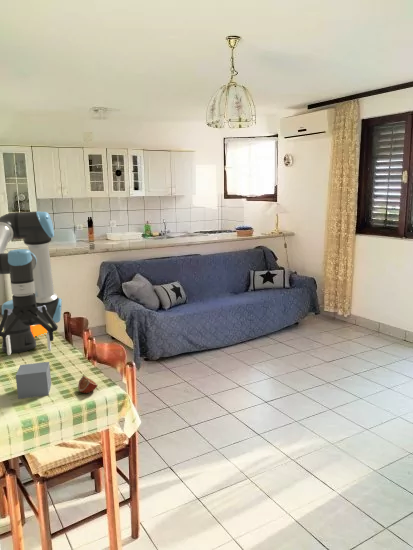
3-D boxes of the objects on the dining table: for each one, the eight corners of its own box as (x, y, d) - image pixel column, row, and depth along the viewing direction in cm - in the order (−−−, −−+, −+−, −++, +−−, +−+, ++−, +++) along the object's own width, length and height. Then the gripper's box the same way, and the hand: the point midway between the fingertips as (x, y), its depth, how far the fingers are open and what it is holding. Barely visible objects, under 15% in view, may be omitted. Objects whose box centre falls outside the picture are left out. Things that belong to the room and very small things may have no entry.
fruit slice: (75, 389, 165) (74, 376, 164) (93, 385, 169) (92, 372, 168) (82, 398, 158) (81, 384, 157) (101, 393, 162) (99, 380, 161)
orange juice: (33, 337, 229) (29, 299, 226) (25, 334, 235) (21, 297, 231) (47, 333, 235) (44, 296, 231) (39, 330, 241) (35, 294, 237)
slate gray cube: (22, 387, 169) (20, 364, 167) (51, 383, 171) (49, 361, 170) (18, 398, 159) (15, 375, 158) (48, 395, 161) (46, 371, 160)
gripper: (-18, 299, 150) (-11, 359, 154) (60, 293, 156) (65, 351, 160) (-13, 294, 158) (-6, 352, 161) (61, 288, 163) (66, 344, 167)
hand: (29, 351), depth 161 cm, fingers open, 13 cm apart
